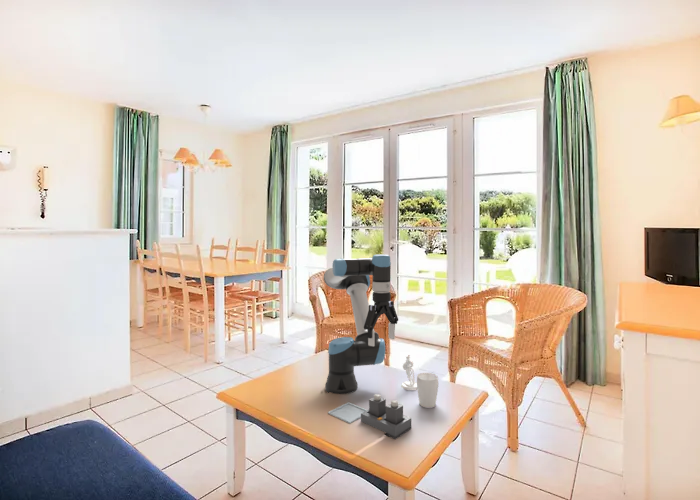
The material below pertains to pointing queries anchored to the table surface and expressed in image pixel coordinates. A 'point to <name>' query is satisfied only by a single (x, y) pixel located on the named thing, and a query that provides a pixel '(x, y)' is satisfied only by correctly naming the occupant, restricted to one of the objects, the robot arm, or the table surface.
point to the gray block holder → (384, 418)
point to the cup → (427, 389)
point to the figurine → (409, 375)
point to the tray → (347, 412)
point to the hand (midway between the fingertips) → (381, 342)
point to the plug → (394, 412)
